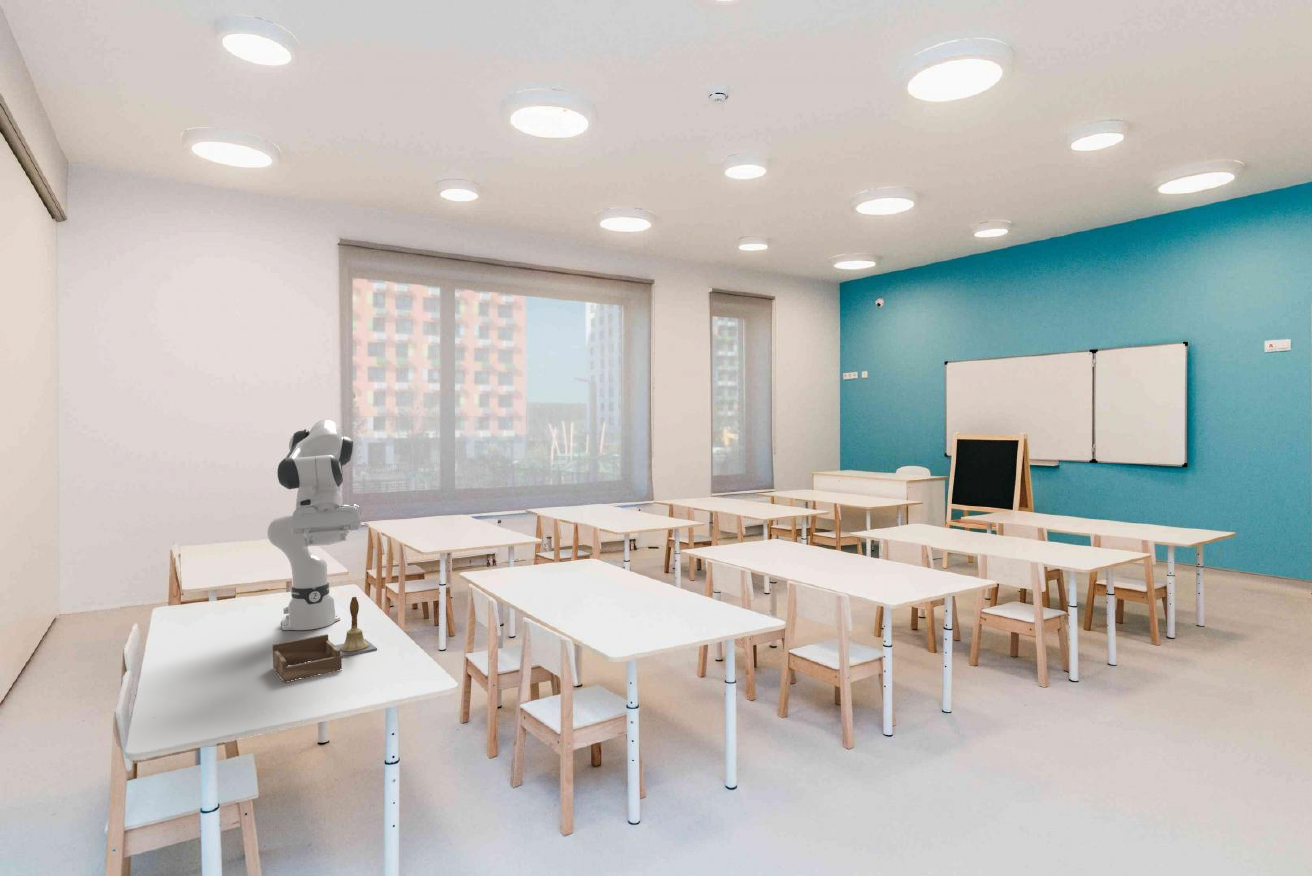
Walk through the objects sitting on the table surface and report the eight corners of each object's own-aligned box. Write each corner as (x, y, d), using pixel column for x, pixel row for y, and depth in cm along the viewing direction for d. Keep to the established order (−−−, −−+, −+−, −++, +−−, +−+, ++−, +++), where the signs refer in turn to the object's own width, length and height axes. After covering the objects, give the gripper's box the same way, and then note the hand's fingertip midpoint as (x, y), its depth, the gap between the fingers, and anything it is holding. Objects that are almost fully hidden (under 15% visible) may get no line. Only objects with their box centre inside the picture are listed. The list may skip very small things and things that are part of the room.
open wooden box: (273, 668, 208) (272, 644, 208) (328, 656, 217) (327, 634, 217) (284, 682, 196) (283, 657, 196) (341, 670, 205) (340, 646, 205)
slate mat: (326, 648, 225) (326, 647, 225) (365, 641, 232) (365, 639, 232) (336, 658, 215) (336, 656, 215) (377, 650, 223) (377, 648, 223)
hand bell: (358, 642, 229) (357, 592, 229) (374, 646, 225) (373, 596, 224) (334, 649, 222) (333, 598, 222) (350, 653, 218) (349, 602, 217)
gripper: (360, 510, 238) (362, 544, 229) (292, 514, 229) (291, 550, 221) (360, 498, 234) (362, 532, 225) (290, 502, 225) (290, 537, 217)
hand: (326, 541), depth 223 cm, fingers open, 8 cm apart
